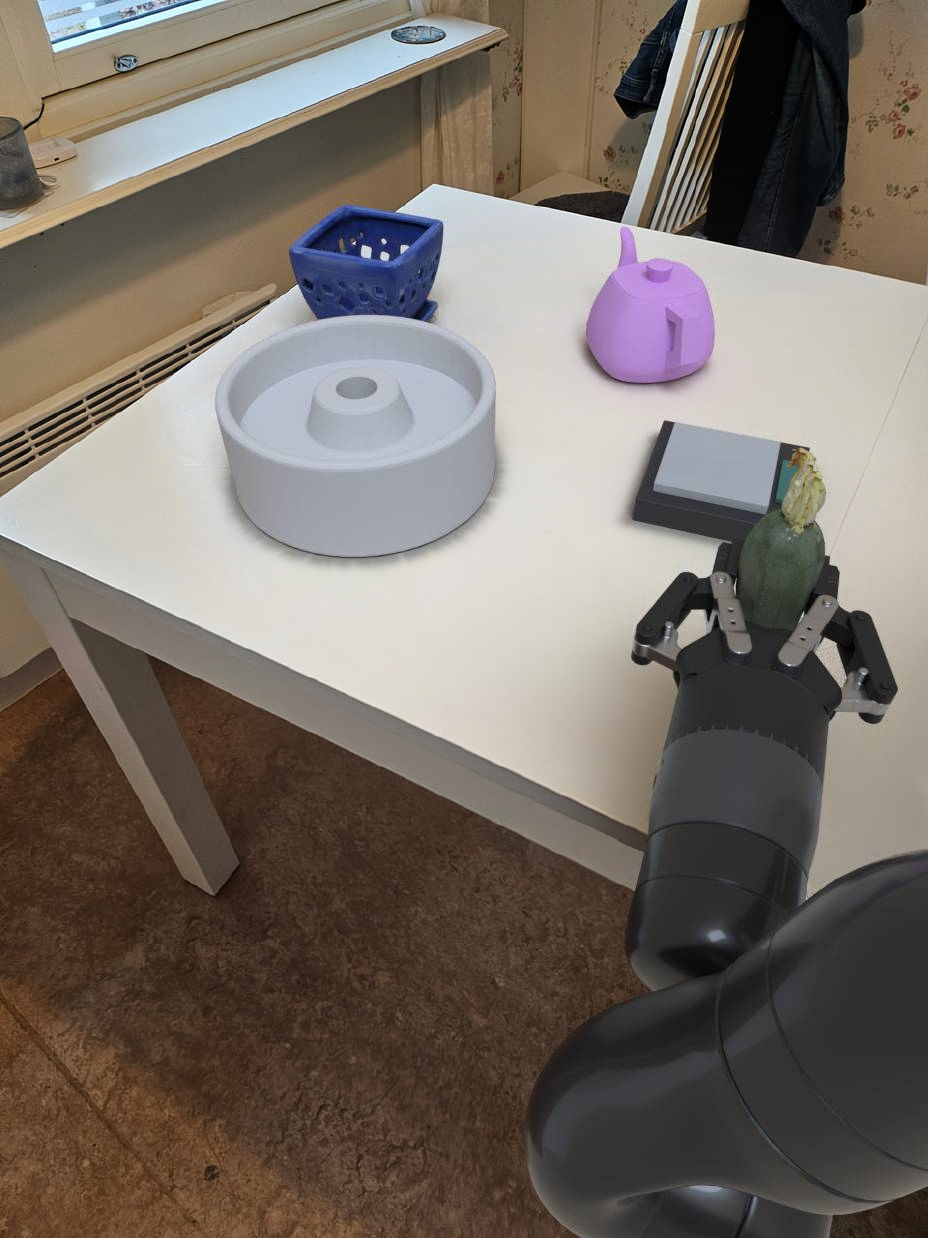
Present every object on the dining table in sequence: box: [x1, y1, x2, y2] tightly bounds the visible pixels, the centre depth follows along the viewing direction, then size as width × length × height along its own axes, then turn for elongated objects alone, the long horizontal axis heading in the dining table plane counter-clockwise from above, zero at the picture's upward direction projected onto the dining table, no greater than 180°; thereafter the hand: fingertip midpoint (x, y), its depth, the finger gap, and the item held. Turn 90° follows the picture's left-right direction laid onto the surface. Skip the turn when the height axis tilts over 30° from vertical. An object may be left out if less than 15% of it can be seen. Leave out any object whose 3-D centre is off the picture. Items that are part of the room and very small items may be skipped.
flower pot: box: [288, 204, 444, 322], centre depth 99 cm, size 13×13×12 cm
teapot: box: [585, 225, 716, 384], centre depth 95 cm, size 13×20×11 cm
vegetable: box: [734, 448, 827, 631], centre depth 52 cm, size 4×4×20 cm
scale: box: [632, 419, 811, 543], centre depth 81 cm, size 14×13×4 cm
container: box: [214, 315, 497, 558], centre depth 81 cm, size 25×25×10 cm
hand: (776, 556), depth 53 cm, fingers closed on vegetable, 4 cm apart
